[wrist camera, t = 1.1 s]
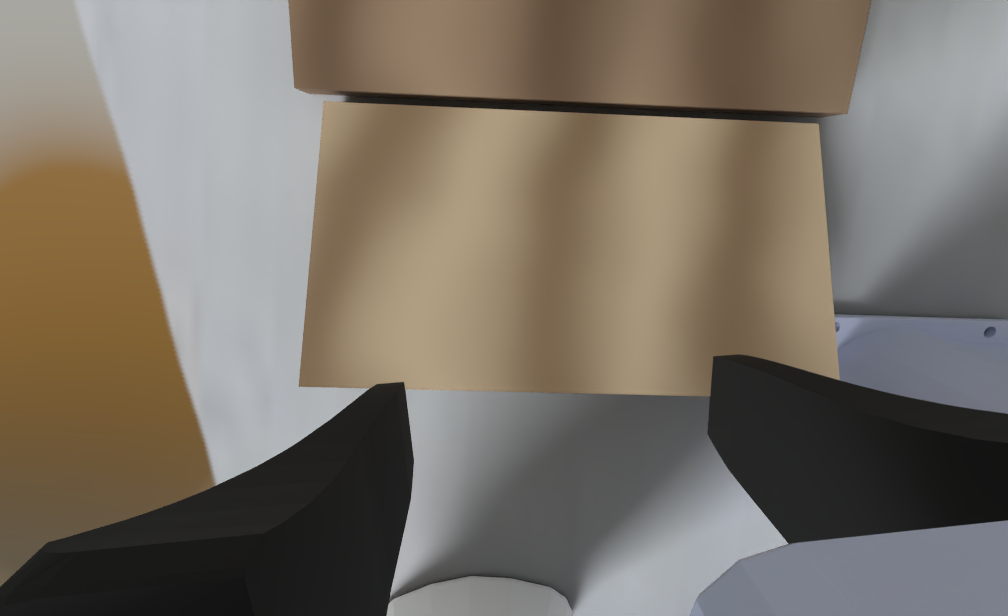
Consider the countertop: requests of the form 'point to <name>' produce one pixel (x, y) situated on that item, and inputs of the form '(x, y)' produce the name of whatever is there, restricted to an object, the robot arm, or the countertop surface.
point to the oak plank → (563, 250)
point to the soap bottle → (481, 599)
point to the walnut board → (586, 52)
